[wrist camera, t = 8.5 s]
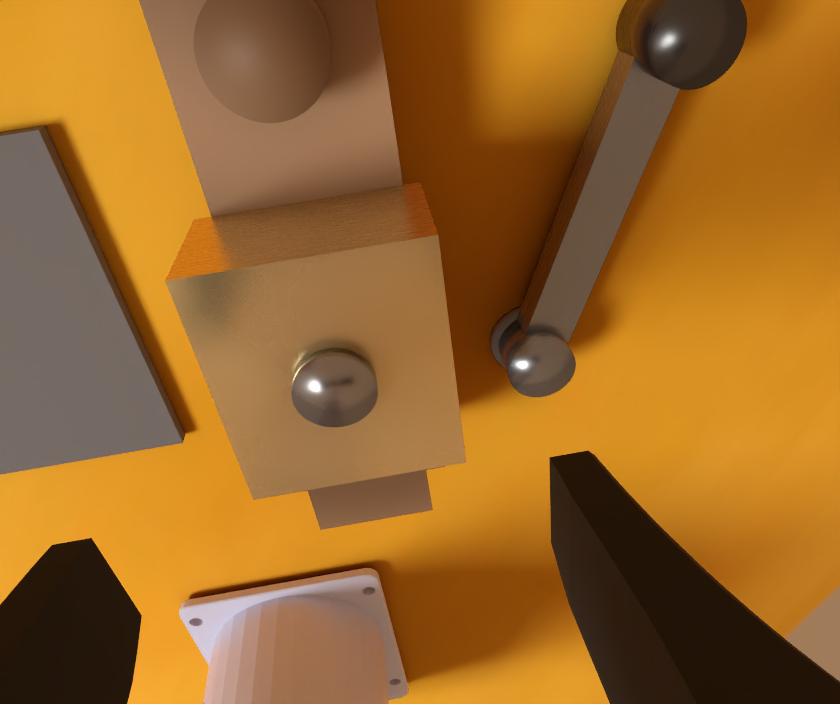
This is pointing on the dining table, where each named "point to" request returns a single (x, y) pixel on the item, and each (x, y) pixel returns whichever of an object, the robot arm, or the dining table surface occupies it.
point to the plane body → (290, 139)
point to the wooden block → (324, 338)
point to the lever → (614, 171)
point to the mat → (65, 327)
